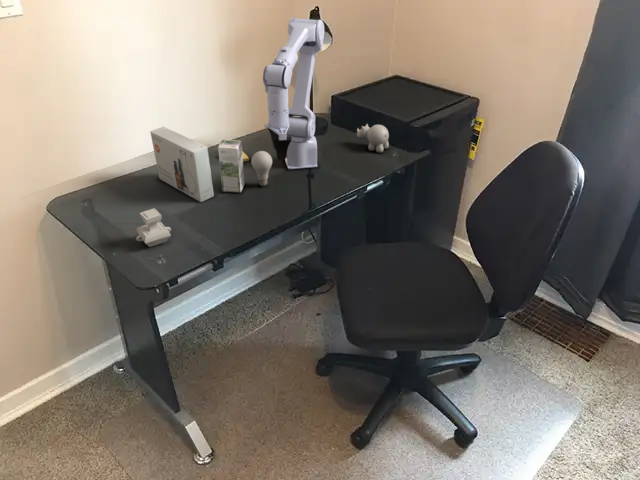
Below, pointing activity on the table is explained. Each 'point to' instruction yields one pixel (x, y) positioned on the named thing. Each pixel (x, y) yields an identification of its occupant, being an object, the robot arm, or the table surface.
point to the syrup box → (231, 165)
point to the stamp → (152, 228)
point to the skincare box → (183, 163)
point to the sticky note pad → (245, 157)
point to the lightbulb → (262, 166)
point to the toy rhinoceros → (375, 137)
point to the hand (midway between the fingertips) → (279, 153)
